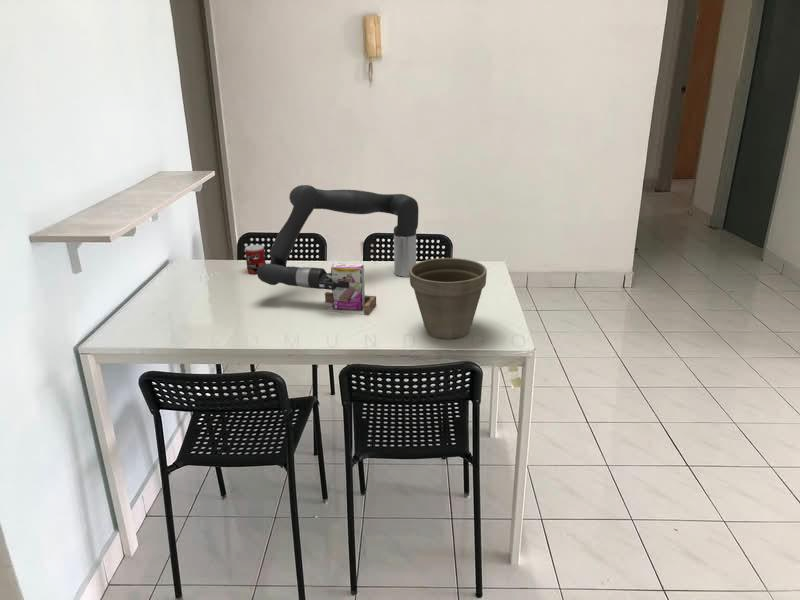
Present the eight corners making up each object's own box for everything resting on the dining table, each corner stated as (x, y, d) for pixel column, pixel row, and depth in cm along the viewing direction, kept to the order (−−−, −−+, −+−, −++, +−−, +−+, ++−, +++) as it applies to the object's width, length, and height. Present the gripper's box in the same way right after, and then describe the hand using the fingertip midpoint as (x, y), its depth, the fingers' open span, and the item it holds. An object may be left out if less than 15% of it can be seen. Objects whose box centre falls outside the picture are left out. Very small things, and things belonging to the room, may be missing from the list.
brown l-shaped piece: (326, 300, 227) (326, 291, 226) (376, 305, 222) (375, 296, 221) (317, 310, 219) (316, 301, 217) (368, 315, 214) (367, 305, 213)
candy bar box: (332, 310, 218) (330, 267, 212) (335, 305, 222) (333, 262, 216) (363, 311, 216) (361, 268, 210) (365, 306, 221) (364, 263, 215)
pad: (335, 302, 225) (335, 302, 225) (371, 306, 221) (371, 305, 221) (327, 311, 218) (327, 310, 218) (364, 314, 214) (364, 314, 214)
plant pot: (394, 332, 200) (393, 270, 192) (439, 309, 217) (440, 252, 209) (455, 353, 185) (456, 287, 177) (498, 328, 202) (501, 266, 194)
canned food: (243, 272, 259) (241, 248, 254) (257, 267, 265) (255, 243, 261) (256, 275, 254) (253, 251, 250) (270, 270, 261) (267, 246, 256)
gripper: (302, 274, 211) (345, 277, 207) (318, 261, 224) (359, 265, 220) (303, 294, 214) (346, 298, 210) (319, 280, 227) (360, 284, 223)
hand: (353, 281), depth 215 cm, fingers open, 8 cm apart
